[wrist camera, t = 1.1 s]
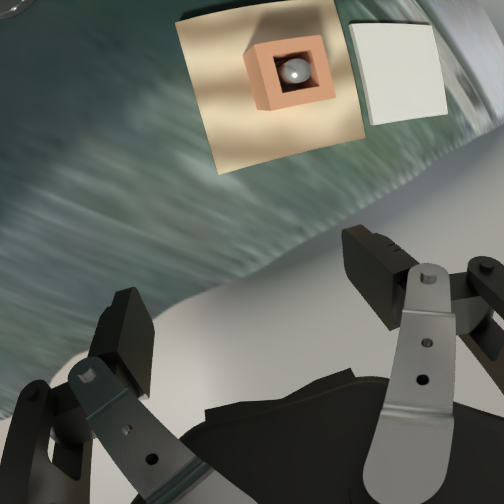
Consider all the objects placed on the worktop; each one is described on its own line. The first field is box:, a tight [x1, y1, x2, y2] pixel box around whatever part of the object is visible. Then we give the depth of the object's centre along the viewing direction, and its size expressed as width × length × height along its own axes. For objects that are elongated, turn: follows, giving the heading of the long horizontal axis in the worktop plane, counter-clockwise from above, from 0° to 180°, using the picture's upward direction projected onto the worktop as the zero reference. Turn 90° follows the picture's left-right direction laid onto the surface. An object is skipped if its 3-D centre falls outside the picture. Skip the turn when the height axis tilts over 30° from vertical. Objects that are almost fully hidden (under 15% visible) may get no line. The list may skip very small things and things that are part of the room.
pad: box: [348, 23, 448, 125], centre depth 30 cm, size 12×12×1 cm
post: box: [276, 58, 311, 86], centre depth 24 cm, size 2×2×6 cm
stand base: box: [175, 0, 365, 175], centre depth 28 cm, size 16×16×2 cm
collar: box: [243, 35, 336, 111], centre depth 25 cm, size 6×6×6 cm
